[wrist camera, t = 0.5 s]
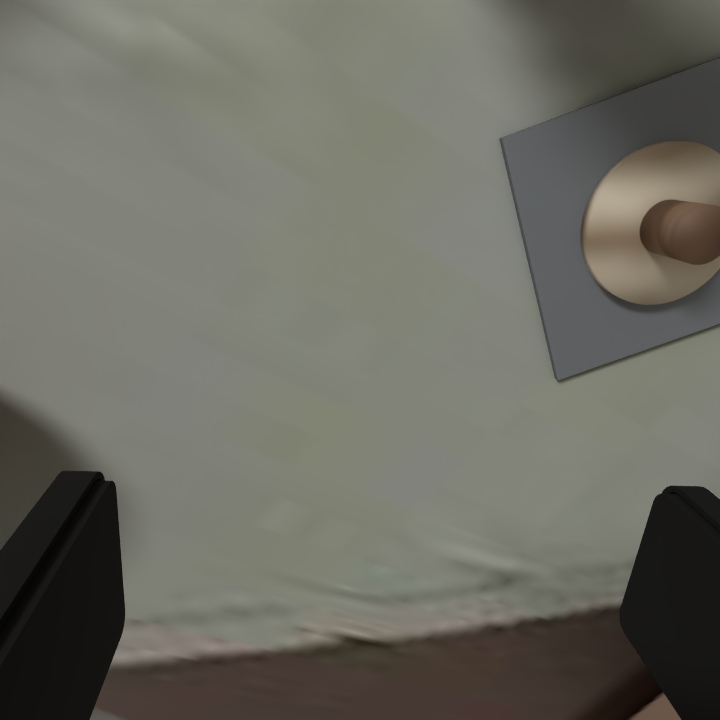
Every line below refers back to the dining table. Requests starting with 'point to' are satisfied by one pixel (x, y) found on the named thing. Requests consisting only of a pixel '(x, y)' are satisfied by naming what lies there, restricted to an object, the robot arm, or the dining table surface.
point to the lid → (655, 223)
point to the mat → (567, 205)
